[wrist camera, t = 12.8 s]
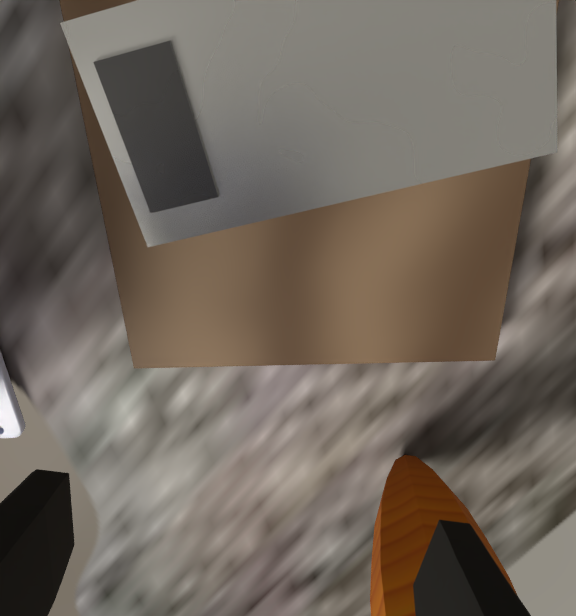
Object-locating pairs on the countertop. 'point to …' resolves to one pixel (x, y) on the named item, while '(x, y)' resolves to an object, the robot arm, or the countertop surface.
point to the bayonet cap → (310, 100)
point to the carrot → (410, 533)
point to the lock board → (317, 271)
